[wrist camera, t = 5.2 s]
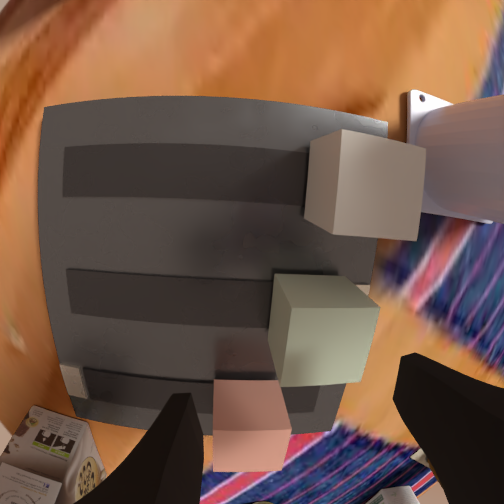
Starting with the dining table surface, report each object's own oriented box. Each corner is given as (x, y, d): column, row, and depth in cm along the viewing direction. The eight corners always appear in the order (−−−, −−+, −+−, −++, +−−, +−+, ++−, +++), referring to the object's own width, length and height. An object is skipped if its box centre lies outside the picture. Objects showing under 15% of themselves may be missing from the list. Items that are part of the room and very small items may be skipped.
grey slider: (379, 152, 15) (426, 148, 11) (372, 224, 16) (416, 241, 12) (310, 141, 15) (341, 129, 10) (303, 218, 15) (332, 234, 11)
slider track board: (378, 124, 16) (389, 121, 15) (326, 420, 21) (331, 432, 20) (53, 110, 14) (42, 106, 13) (81, 407, 19) (75, 418, 18)
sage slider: (344, 275, 16) (380, 307, 12) (333, 338, 17) (360, 381, 13) (274, 273, 16) (291, 307, 12) (267, 339, 17) (280, 387, 13)
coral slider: (278, 380, 18) (291, 429, 14) (271, 422, 19) (281, 470, 14) (213, 379, 17) (212, 430, 13) (213, 422, 18) (213, 471, 14)
